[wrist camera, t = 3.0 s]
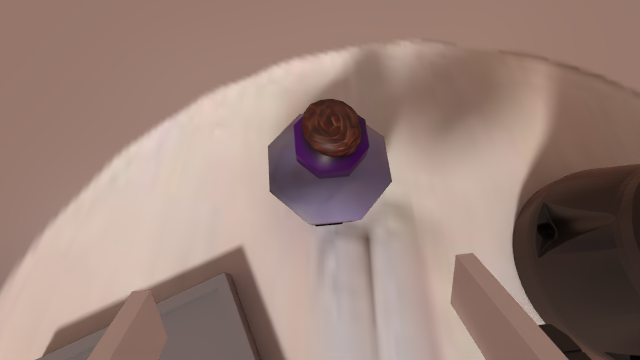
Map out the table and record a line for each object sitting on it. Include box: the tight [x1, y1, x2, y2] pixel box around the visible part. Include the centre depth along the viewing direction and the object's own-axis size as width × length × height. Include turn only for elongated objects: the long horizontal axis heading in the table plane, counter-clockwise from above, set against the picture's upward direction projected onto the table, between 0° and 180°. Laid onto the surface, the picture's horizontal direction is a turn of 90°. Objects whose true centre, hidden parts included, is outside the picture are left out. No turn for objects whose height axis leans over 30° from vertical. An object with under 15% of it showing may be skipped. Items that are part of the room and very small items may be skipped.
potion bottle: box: [268, 99, 392, 226], centre depth 22 cm, size 9×9×12 cm
